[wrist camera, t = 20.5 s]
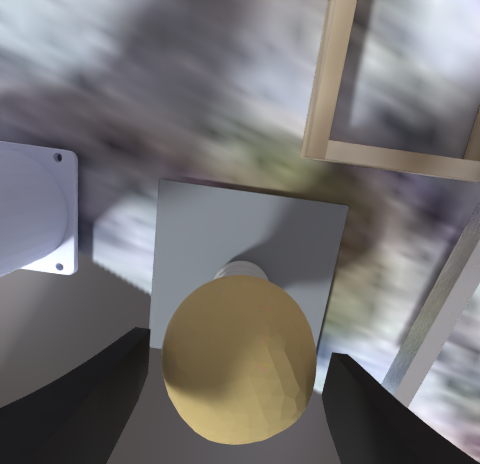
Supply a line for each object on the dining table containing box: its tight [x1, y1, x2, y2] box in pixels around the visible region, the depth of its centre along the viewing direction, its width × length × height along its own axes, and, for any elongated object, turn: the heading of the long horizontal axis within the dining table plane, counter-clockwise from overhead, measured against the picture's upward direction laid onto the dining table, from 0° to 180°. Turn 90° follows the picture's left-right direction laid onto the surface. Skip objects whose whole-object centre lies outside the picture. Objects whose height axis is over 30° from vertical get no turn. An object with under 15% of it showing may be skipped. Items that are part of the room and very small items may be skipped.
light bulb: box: [161, 261, 317, 445], centre depth 13 cm, size 6×6×10 cm
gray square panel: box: [149, 179, 349, 349], centre depth 19 cm, size 12×12×1 cm
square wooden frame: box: [300, 0, 480, 183], centre depth 15 cm, size 11×11×2 cm
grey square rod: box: [381, 201, 480, 408], centre depth 15 cm, size 15×2×2 cm, turn 162°
